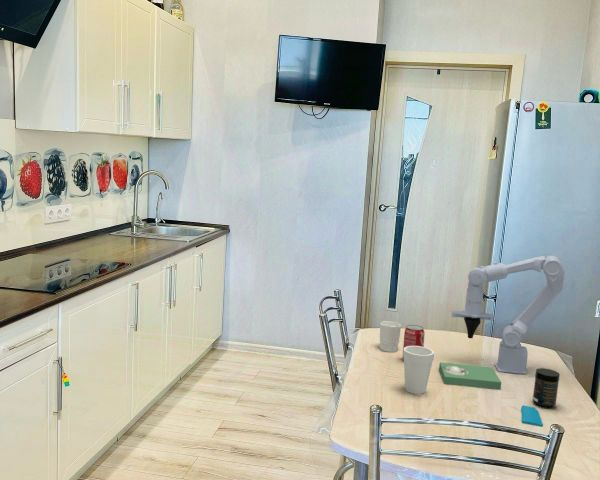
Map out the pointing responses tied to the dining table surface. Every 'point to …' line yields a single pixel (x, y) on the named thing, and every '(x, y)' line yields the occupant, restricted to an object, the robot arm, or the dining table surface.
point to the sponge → (530, 416)
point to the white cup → (389, 336)
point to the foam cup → (417, 368)
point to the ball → (455, 369)
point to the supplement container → (545, 388)
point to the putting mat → (470, 376)
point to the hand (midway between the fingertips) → (470, 337)
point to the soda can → (413, 336)
